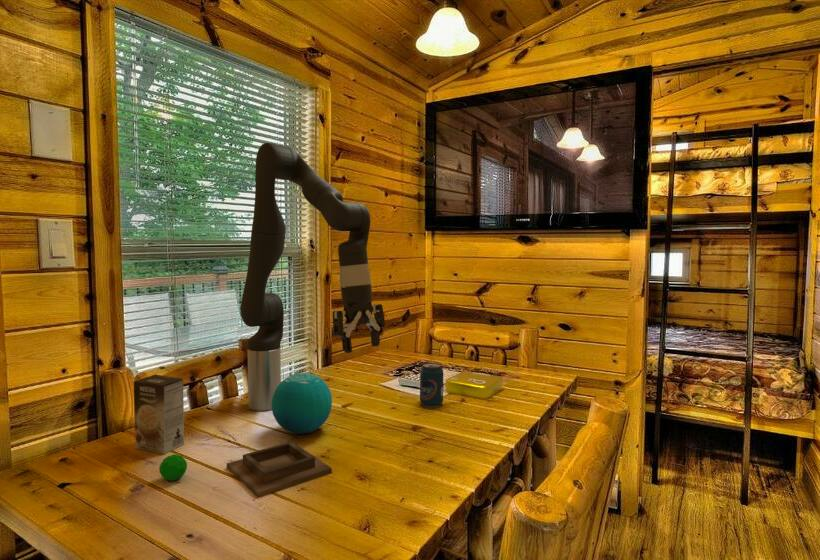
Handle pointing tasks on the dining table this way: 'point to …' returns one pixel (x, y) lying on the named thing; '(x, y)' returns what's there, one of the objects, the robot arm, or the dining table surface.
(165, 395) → the coffee box
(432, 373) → the soda can
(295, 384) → the decorative orb
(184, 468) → the polyhedron
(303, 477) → the tray
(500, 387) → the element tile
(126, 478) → the dining table surface
